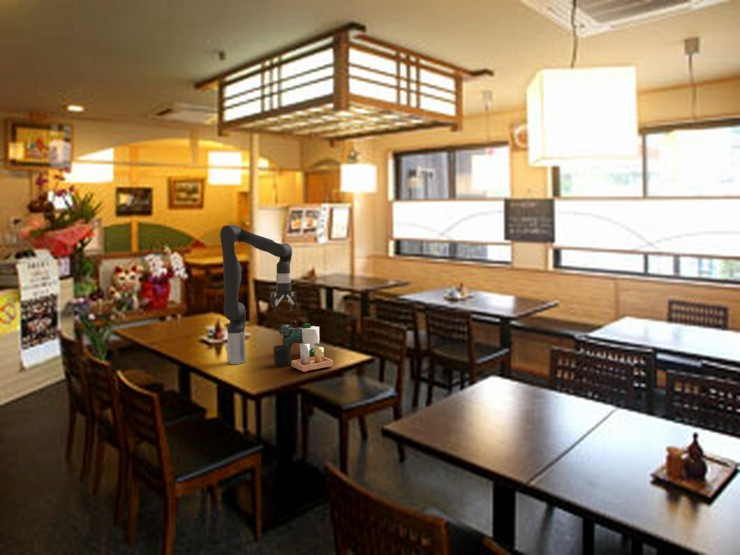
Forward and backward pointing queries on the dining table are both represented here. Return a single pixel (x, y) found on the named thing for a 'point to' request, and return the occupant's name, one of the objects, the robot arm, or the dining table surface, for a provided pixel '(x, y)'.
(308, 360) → the steel spacer
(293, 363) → the pink tray
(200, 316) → the dining table surface
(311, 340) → the milk carton
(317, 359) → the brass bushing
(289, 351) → the pen holder
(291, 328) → the ceramic cat
